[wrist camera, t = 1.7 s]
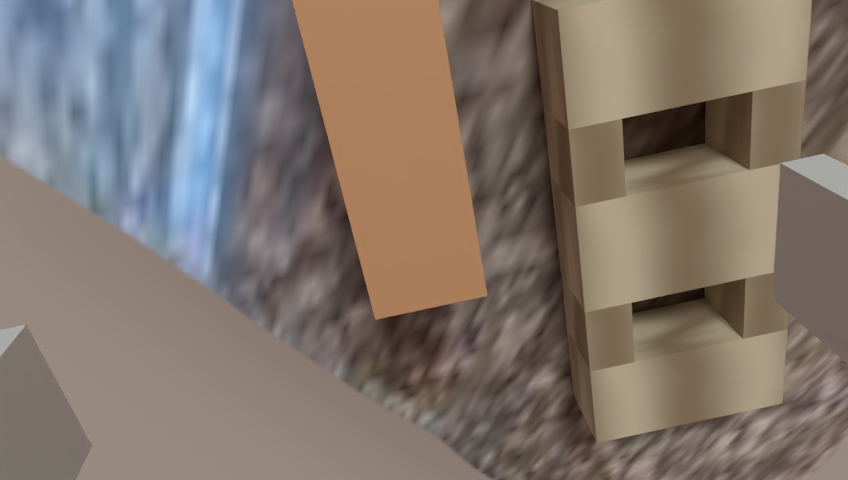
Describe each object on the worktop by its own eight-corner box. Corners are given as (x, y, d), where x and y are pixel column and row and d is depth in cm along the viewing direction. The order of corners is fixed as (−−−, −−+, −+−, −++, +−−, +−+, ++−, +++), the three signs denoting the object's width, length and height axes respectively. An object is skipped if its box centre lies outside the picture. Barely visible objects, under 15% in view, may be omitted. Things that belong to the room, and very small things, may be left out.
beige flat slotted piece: (756, -48, 29) (815, -44, 25) (741, 358, 38) (782, 403, 35) (531, -1, 28) (557, 10, 25) (573, 394, 38) (596, 443, 35)
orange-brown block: (303, -58, 27) (279, -50, 18) (400, -78, 27) (425, -81, 18) (368, 208, 32) (375, 319, 23) (449, 192, 32) (487, 295, 23)
